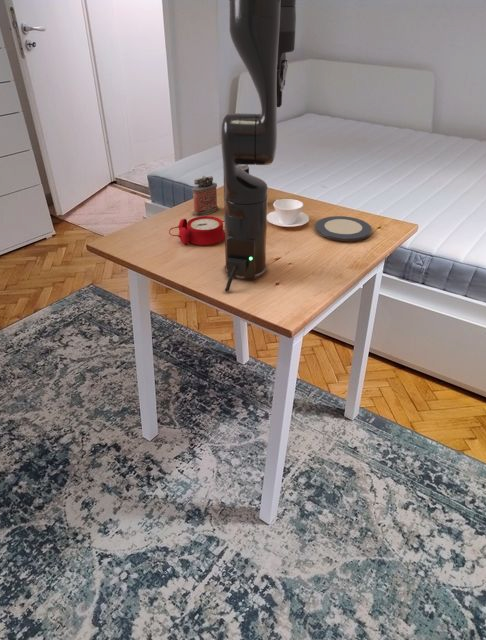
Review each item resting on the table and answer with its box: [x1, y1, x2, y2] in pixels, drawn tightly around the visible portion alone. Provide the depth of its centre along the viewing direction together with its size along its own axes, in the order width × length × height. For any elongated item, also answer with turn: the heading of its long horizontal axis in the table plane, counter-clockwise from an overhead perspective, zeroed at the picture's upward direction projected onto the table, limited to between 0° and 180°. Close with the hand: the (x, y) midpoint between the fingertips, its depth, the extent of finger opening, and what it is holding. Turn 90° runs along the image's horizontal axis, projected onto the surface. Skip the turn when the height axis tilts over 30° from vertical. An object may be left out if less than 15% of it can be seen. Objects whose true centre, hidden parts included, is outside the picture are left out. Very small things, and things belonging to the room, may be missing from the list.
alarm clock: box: [168, 215, 225, 246], centre depth 125 cm, size 10×6×15 cm
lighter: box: [191, 175, 219, 217], centre depth 138 cm, size 8×3×10 cm, turn 133°
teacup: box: [267, 198, 310, 228], centre depth 133 cm, size 12×12×5 cm
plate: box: [314, 215, 373, 242], centre depth 130 cm, size 15×15×1 cm
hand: (277, 106), depth 129 cm, fingers closed
